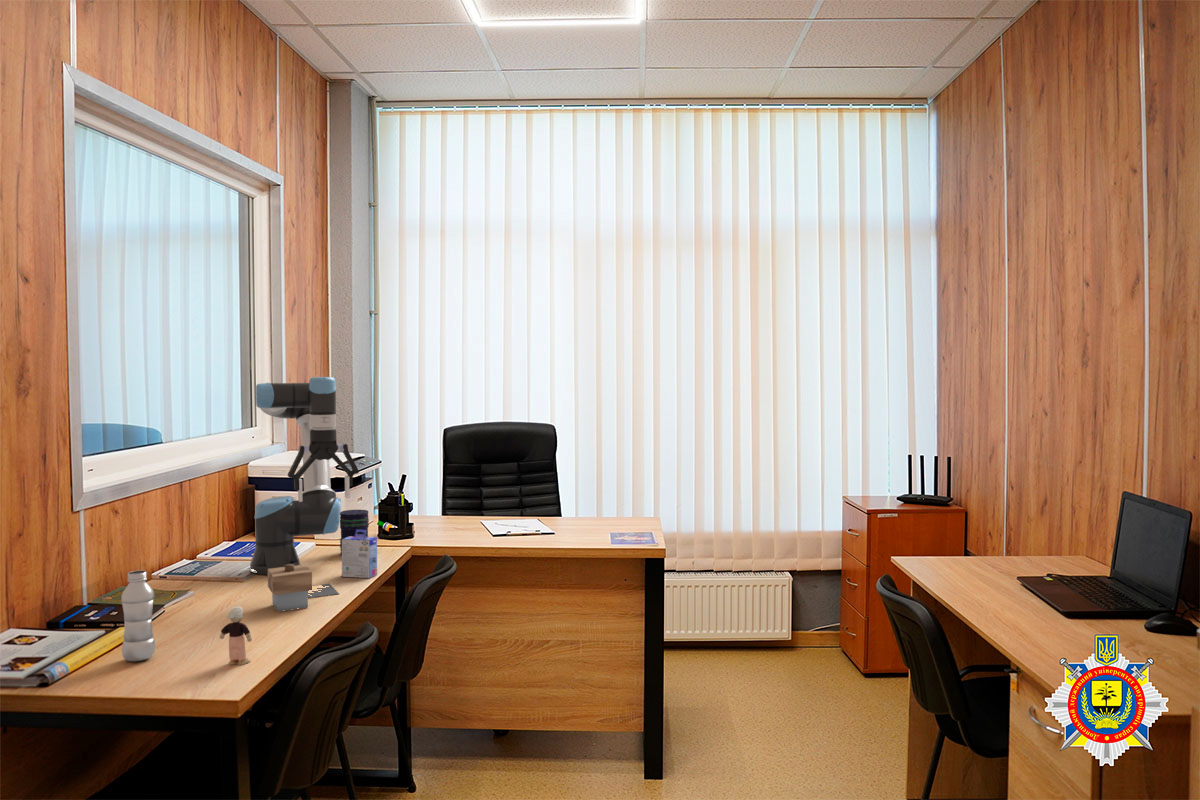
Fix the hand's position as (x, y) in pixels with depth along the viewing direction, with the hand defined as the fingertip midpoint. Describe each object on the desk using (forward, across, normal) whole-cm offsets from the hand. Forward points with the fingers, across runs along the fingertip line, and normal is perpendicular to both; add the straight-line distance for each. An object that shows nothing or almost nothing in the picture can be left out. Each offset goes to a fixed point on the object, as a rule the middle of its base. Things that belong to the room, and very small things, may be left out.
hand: (324, 499), depth 249 cm
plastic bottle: (+26, -49, -43) cm, 71 cm away
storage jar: (+27, +18, +40) cm, 52 cm away
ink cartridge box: (+27, +12, +8) cm, 31 cm away
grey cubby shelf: (+26, -13, -16) cm, 33 cm away
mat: (+26, -5, -4) cm, 27 cm away
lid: (+21, -13, -16) cm, 30 cm away
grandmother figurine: (+26, -30, -56) cm, 69 cm away
